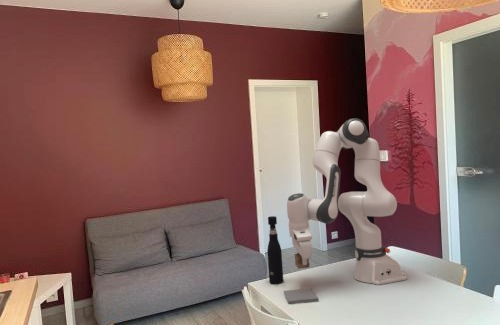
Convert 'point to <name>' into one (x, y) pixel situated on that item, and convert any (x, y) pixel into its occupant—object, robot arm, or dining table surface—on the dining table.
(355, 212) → the robot arm
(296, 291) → the slate board
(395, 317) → the dining table surface
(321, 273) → the dining table surface
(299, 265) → the walnut block
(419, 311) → the dining table surface
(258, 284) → the dining table surface
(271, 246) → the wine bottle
